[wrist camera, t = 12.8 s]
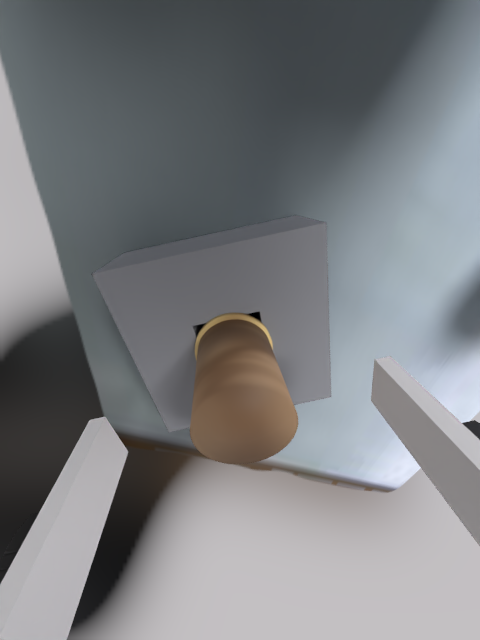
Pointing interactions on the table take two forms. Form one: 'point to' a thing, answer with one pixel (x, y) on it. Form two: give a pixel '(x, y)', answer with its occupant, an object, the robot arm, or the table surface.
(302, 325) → the socket block
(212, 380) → the walnut peg
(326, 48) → the table surface
